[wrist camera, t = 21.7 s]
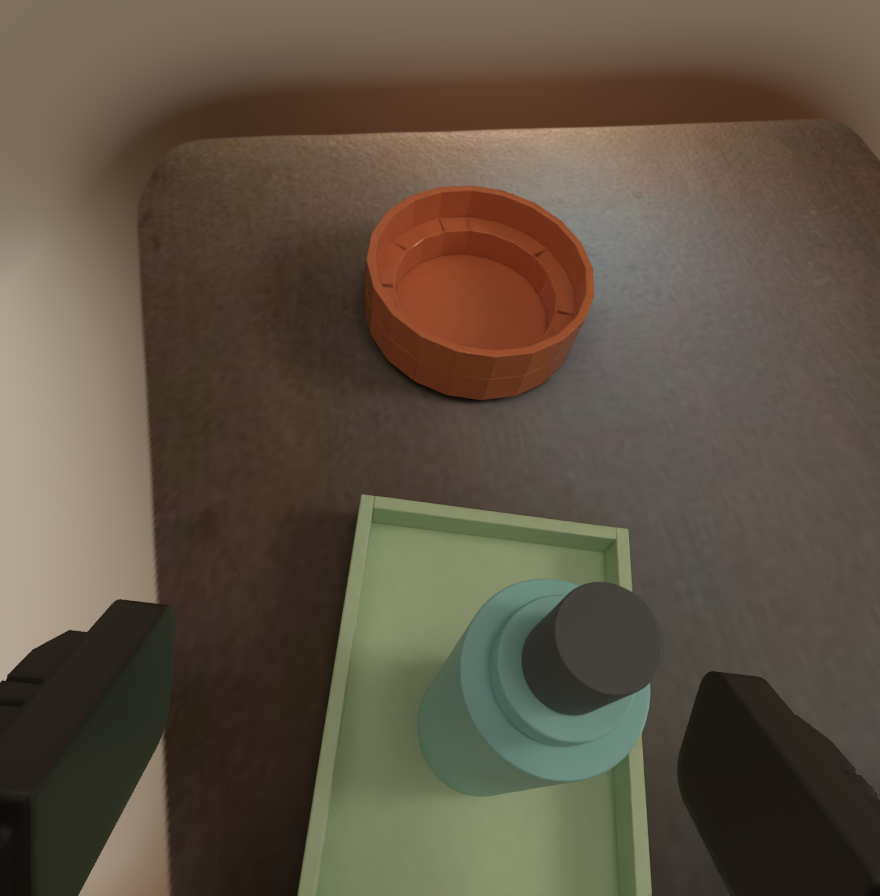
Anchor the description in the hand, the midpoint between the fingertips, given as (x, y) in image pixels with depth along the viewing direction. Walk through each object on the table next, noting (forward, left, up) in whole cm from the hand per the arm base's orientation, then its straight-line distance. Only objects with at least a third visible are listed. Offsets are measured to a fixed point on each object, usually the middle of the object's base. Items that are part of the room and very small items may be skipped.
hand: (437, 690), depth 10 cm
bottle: (+5, +3, -23) cm, 24 cm away
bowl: (+3, +28, -24) cm, 37 cm away
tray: (+5, +3, -24) cm, 24 cm away
